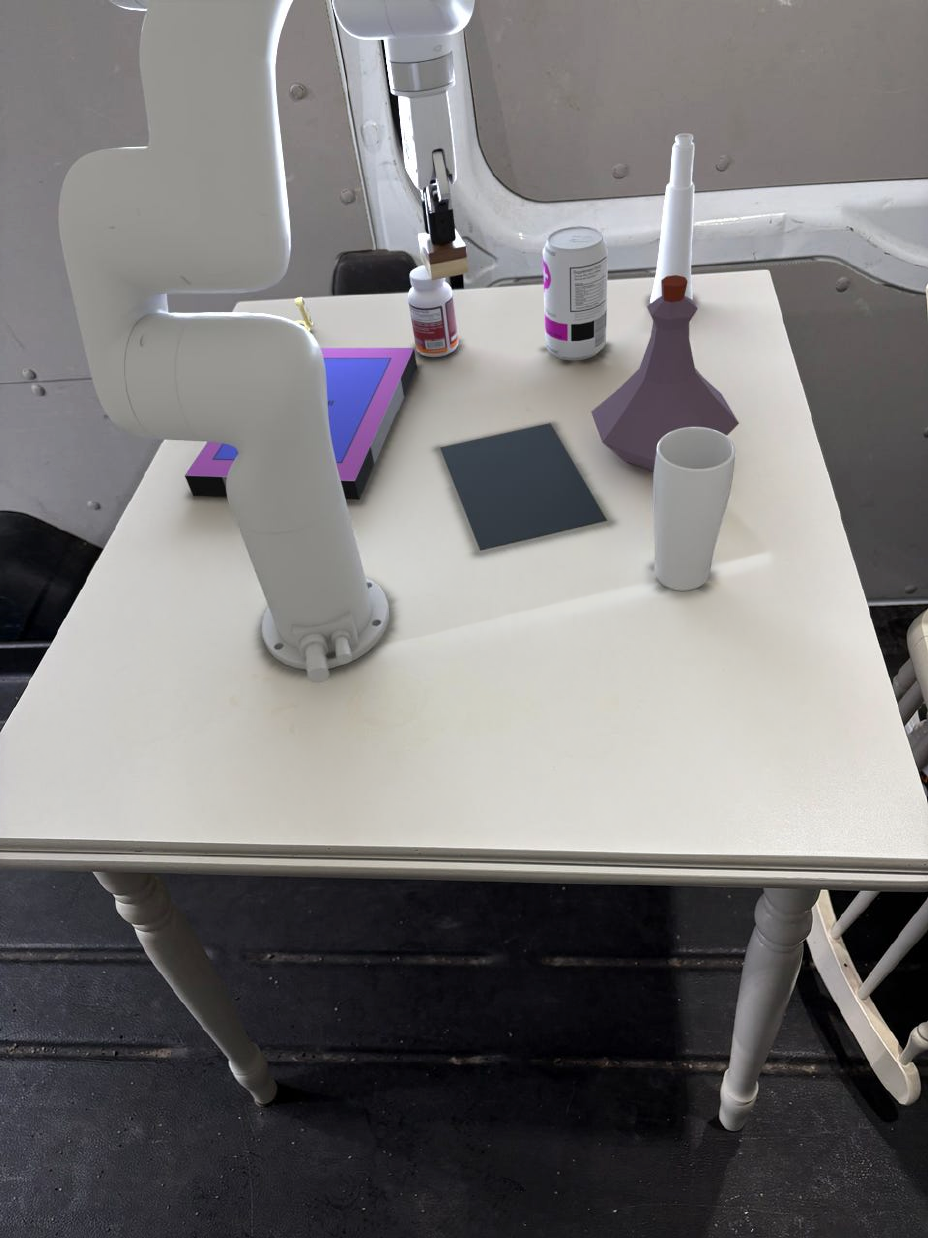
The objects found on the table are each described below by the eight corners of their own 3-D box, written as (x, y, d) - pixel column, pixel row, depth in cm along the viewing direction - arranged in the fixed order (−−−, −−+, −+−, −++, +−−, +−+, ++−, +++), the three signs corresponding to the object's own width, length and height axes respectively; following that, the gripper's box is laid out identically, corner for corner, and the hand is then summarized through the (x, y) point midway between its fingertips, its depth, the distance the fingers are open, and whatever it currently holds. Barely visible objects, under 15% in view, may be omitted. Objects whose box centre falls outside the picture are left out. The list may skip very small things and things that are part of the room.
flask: (576, 484, 94) (575, 315, 80) (603, 405, 105) (607, 244, 90) (727, 500, 90) (755, 324, 75) (739, 415, 100) (766, 247, 86)
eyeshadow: (280, 327, 129) (272, 296, 125) (312, 322, 129) (305, 290, 126) (281, 340, 126) (273, 309, 122) (314, 334, 126) (306, 303, 122)
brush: (468, 272, 109) (461, 196, 103) (431, 280, 109) (422, 204, 102) (456, 252, 114) (449, 178, 107) (421, 259, 114) (411, 185, 107)
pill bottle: (441, 332, 122) (431, 257, 115) (467, 346, 119) (459, 269, 111) (407, 349, 120) (395, 273, 112) (433, 363, 116) (422, 286, 109)
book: (414, 347, 114) (354, 480, 94) (417, 367, 116) (359, 502, 96) (270, 347, 118) (184, 475, 98) (276, 367, 120) (193, 495, 100)
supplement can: (540, 361, 114) (535, 250, 103) (553, 331, 119) (550, 223, 109) (599, 364, 112) (601, 251, 101) (610, 334, 117) (613, 224, 106)
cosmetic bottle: (701, 302, 121) (719, 134, 105) (668, 315, 119) (681, 146, 103) (673, 288, 125) (687, 124, 109) (641, 301, 123) (650, 136, 107)
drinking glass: (664, 606, 80) (676, 478, 69) (635, 562, 84) (642, 436, 74) (729, 588, 80) (752, 459, 70) (697, 545, 85) (713, 418, 74)
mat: (607, 523, 89) (607, 520, 89) (480, 552, 88) (480, 550, 87) (550, 425, 103) (550, 422, 103) (440, 449, 102) (439, 447, 101)
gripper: (378, 63, 101) (401, 220, 114) (402, 96, 90) (425, 266, 103) (438, 52, 102) (454, 209, 115) (469, 84, 90) (483, 254, 103)
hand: (440, 235), depth 109 cm, fingers closed on brush, 3 cm apart
